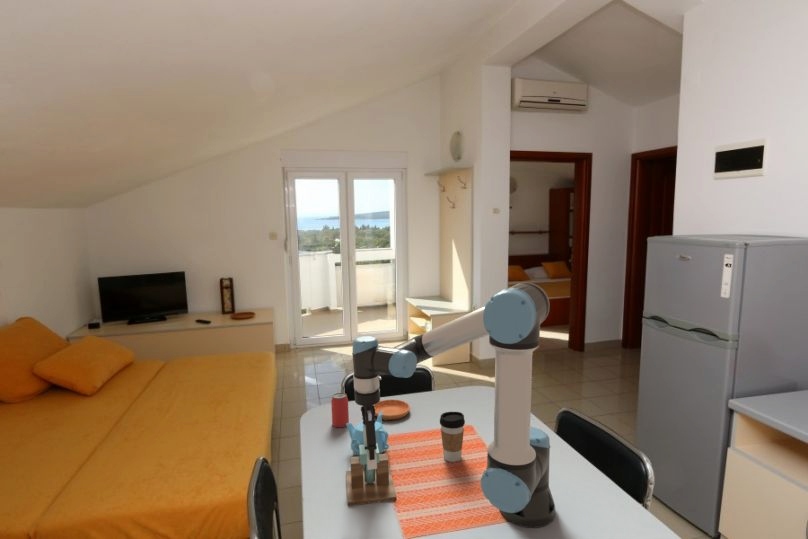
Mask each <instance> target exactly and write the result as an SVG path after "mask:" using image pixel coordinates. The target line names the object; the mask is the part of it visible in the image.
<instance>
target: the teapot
mask: <svg viewBox="0 0 808 539" xmlns="http://www.w3.org/2000/svg"><path fill="white" fill-rule="evenodd" d="M382 414H383V412H380V413H379V415H378V417H377V419H376V420H375V435H376V443H377V444H378V449H379V454H382V453H383V452H384V451H387V450H389V449H390V445H389V443H388V439H389V432H388V430H386V429H385V428H384V426H383V422H382V421H383V419H382ZM346 425H347V426H346V427H347V431H348V433H349V436H350V439H351V441H350V449H351V451H352V452H353V453H354V455H355V457H359V456H360V455H359V445H364V435H363V426H365V425H363V421H362V422H359V424H358V425H357V426H356V427H355V426H353V424H352V423H351V422H349V423H347V424H346Z"/></svg>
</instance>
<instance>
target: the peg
mask: <svg viewBox="0 0 808 539" xmlns="http://www.w3.org/2000/svg"><path fill="white" fill-rule="evenodd" d="M376 446H377V449H376V457H377V463H379V449H378V444H377V443H376ZM365 447H367V444H364V445H359V455H360V463H361V465H362V464H363V469H364V473H365V482H366V483H373V482H374V481H375V469H371V470H368V469H367V449H366V450H365Z"/></svg>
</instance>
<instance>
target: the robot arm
mask: <svg viewBox="0 0 808 539" xmlns="http://www.w3.org/2000/svg"><path fill="white" fill-rule="evenodd" d="M550 305H551V304H550V299H549V296H548V294H547V293H546V291H545V290H544V289H543V288H542V287H541V286H539V285H537V284H535V283H532V282H526V281H525V282H519V283H516V284H513V285H512V286H510V287H507V288H504V289H501V290H499V291H497V292H496V293H495V294H493V295H492V296H491V297H490V298H489V299H488V301H486V303H485V305H484V306H482V307H481V308H477V309H476V310H474V311H471V312H469V313H467V314H465V315H462V316H460V317H458V318H456V319H453V320H451V321H448V322H447V323H444V324H442V325H439V326H437V327H435V328H432V329H431V330H427V331H426V332H424V333H421V334H419V335H416V336H414V337H412V338H409V340H406V341H404V342H402V343H400V344H398V345H396V346H394V347H387V346H381V345H379V339H378V338H377V337H374V336H369V335H363V336H359V337H356V338H355V339H354V340H352V353H351V354H352V363H353V389H354V402H355V403H356V405H358V406H360V411H361V416H362V418H361V419H362V422H363V425H365V426H363V435H364V444H367V447H365V450H366V449H367V469H368V470H371V469H377V457H376V449H377V446H376V435H375V421H376V417H375V416H376V415H375V409H374V404H377V403H378V402H379V401H381V389H380V381H381V380H382V377H381V376H380V374H383V375H388V376H393V377H396V378H411V377H412V376H414V372H416V370H417V365H418V364H420V363H421V362H424V361H427V360H429V359H431V358H434V357H436V356H439V355H441V354H444V353H446V352H448V351H451V350H454V349H456V348H459V347H461V346H463V345H466V344H469V343H471V342H474V341H476V340H479V339H482V338H484V337H486V336H489V345H490V346H491V347H492V348H493V349H494V350H495V353H494V354H495V356H494V357H495V358H494V360H495V361H494V363H495V364H494V365H495V366H494V410H493V411H494V414H493V415H494V418H493V420H494V422H493V441H491V442H490V443H489V444H488V445H487V458H486V459H487V460H486V462H487V463H486V469H485V470H484V471H483V473H482V474H481V475H482V476H481V478H480V488H481V492H482V494H483V496H484V498H486V500H488V501H489V503H490V504H491V505H492V506H493V507H495V508H496V509H498V510H499V512H500V513H501V515H502V516H503V517H504V518H505V519H506V520H508V521H509V522H511V523H513V524H515V525H517V526H520V527H521V526H522V527H525V528H541V527H545V526H547V525H549V524H551V523H552V522H553V521H554V519H555V516H556V504H555V501H554V498H553V495H552V492H551V489H550V485H549V484H550V450H551V443H550V437H549V435H548V433H546V432H545V431H544V430H542V429H539V428H537V427H533V426H531V415H532V414H531V412H532V411H531V409H532V377H533V376H532V375H533V372H532V371H533V352H534V351H536V350H537V349H538V348H539V347H540V335H541V334H540V333H541V332H540V331H541V324H542V323H543V322H544V321H545V320H546V319H547V317H548V315H549V312H550V309H551V308H550Z"/></svg>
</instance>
